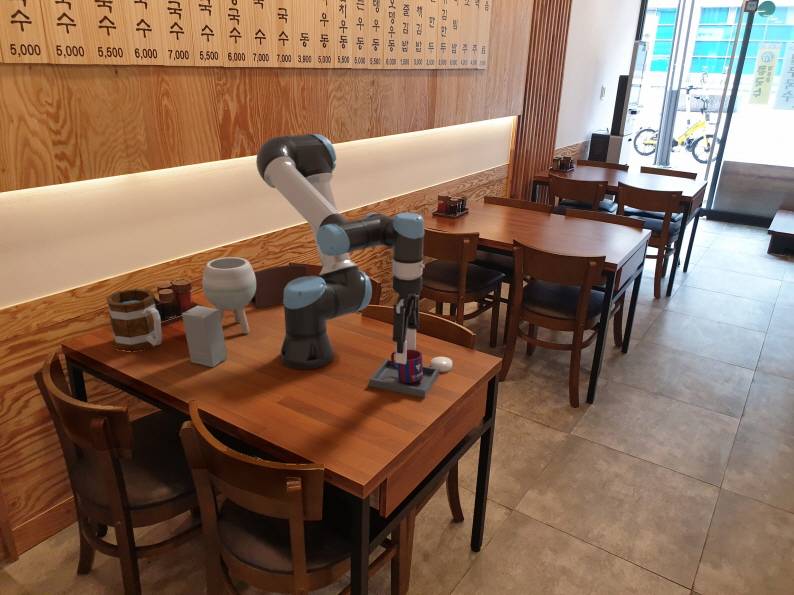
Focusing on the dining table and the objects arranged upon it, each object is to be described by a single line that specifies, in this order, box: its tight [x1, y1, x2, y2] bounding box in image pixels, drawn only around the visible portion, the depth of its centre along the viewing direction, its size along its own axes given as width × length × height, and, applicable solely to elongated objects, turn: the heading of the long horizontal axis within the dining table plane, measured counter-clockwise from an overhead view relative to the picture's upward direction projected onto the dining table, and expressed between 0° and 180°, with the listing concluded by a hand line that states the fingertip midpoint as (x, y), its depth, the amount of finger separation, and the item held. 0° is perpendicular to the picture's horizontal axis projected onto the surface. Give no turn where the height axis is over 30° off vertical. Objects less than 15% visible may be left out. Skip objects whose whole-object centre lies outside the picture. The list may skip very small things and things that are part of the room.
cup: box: [390, 349, 424, 383], centre depth 157 cm, size 7×10×7 cm
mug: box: [105, 288, 163, 353], centre depth 172 cm, size 20×14×15 cm
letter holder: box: [249, 264, 309, 310], centre depth 209 cm, size 10×20×14 cm, turn 120°
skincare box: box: [181, 305, 228, 368], centre depth 163 cm, size 8×7×16 cm
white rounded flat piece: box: [430, 356, 453, 373], centre depth 166 cm, size 6×6×2 cm
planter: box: [201, 256, 256, 335], centre depth 183 cm, size 16×16×22 cm
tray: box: [368, 358, 440, 399], centre depth 158 cm, size 16×13×2 cm
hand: (405, 356), depth 155 cm, fingers closed on cup, 7 cm apart
